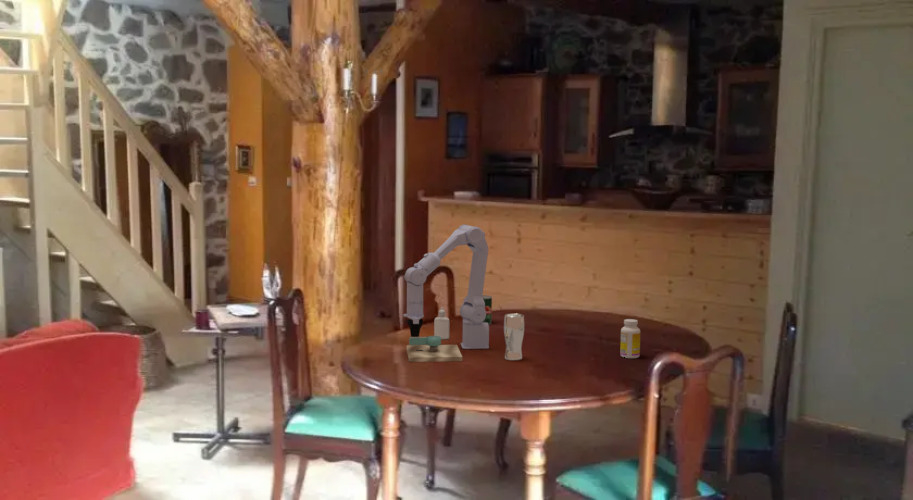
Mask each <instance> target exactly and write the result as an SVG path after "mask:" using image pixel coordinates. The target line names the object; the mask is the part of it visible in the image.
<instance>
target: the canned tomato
mask: <svg viewBox="0 0 913 500" xmlns="http://www.w3.org/2000/svg"><path fill="white" fill-rule="evenodd" d="M482 298H483V300H484V302H485V311H486V318H485V320H484V321H483V322H484V323H488V325H489V326H490V325H492V323H493V322H492V321H493V320H492V319H493V317H492V315H493V314H492V313H493V309H492V307H493V305H492V303H493V296H492V295H486V294H483V295H482Z"/></svg>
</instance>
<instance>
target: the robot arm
mask: <svg viewBox="0 0 913 500" xmlns="http://www.w3.org/2000/svg"><path fill="white" fill-rule="evenodd" d="M458 246H467V247H468V248H469V249H470V250H471V251H472V257H471V265H470V271H469V272H470V273H469V280H468V288H467V295H466V296H465V297H464V298H463V302H462V304H461V306H460V309H459V314H460V316H461V318H462V342H460V346H461V348H462V349H463V350H465V349H466V350H471V349H473V350H475V349H476V350H479V349H482V350H483V349H489V348H490V346H489V344H490V343H489V342H490V338H489V337H490V324H489V325H488V323H484V322H483V321H484V320H485V318H486V311H485V302H484V300H483V298H482V295H484V294H483V292H484V286H485V279H486V271H487V263H488V255H489V246H488V242H487V239H486V233H485V232H484V231H483V229H481V228H480V227H479V226H472V225H468V224H461V225H460V226H459V227H458V228H457V229H455V230H454V231H453V232H452V233H451V235H450V236H449V237H448V238H447V239H446V240H445V241H444V242H443V243H442V244H441V245H440V246H439V247H438V248H437V249H436V250H434V251H433V252H428V253H425V254H423V257H422V259H420V260H419V261H418V262H417V263H416V262H415V263H414V264H413V266H412V267H409V268H407V270H406V271H405V274H404V275H403V278H404V280H405V281H406V313H403V317H404V318H408V319H406V323H407V325H408V327H409V332H410V337H420V332H421V328H422V326H423V324H424V320H423V318H424V315H425V314H424V283H426V281H427V277H428V276H429V275H430V274H432V272H433V271H435V270H436V269H437V268H438V267H440V266H441V261H442V259H443V258H445V257H446V256H447V255H448V254H449V253H450V252H452V251H453V250H454V249H455V248H457V247H458Z"/></svg>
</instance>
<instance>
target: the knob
mask: <svg viewBox="0 0 913 500" xmlns="http://www.w3.org/2000/svg"><path fill="white" fill-rule="evenodd" d="M408 345H428V346H439V345H442V339H441V337H440V336H434V335H429V336H419V337H411V336H410V337H408Z"/></svg>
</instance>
